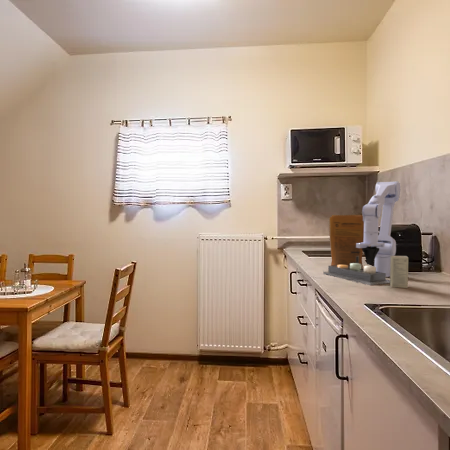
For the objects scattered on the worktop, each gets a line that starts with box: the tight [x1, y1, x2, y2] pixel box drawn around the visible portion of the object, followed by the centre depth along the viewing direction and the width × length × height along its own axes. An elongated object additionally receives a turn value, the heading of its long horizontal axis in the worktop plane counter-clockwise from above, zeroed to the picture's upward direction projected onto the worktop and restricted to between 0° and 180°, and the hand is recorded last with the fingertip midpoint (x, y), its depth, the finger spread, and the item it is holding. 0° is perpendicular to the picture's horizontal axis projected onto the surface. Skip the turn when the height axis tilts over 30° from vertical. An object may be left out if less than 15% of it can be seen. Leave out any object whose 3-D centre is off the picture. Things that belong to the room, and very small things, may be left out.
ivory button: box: [363, 265, 376, 274], centre depth 156 cm, size 5×5×3 cm
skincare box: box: [389, 255, 409, 289], centre depth 146 cm, size 6×4×12 cm
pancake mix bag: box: [328, 214, 364, 269], centre depth 196 cm, size 7×19×28 cm, turn 67°
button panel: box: [323, 265, 390, 286], centre depth 163 cm, size 12×28×4 cm, turn 26°
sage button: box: [350, 263, 361, 271], centre depth 163 cm, size 5×5×3 cm
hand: (369, 264), depth 156 cm, fingers closed
